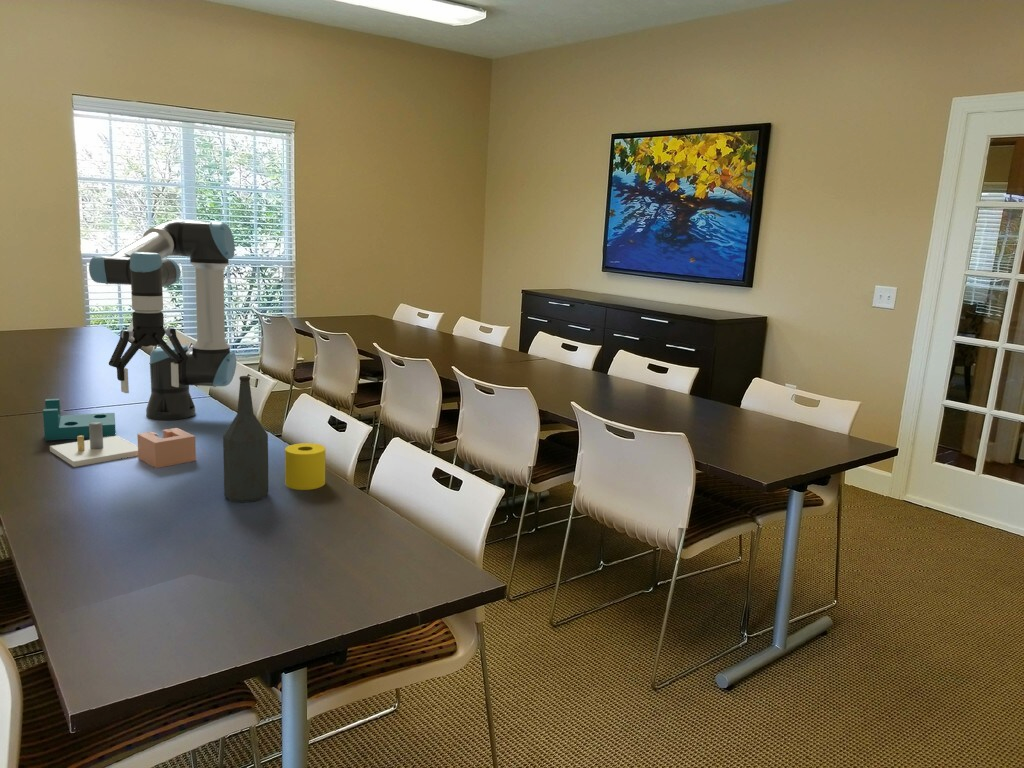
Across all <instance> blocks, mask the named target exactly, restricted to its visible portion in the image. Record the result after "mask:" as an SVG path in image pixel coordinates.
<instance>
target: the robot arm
mask: <svg viewBox="0 0 1024 768" xmlns="http://www.w3.org/2000/svg"><path fill="white" fill-rule="evenodd" d="M235 247H236V246H235V239H234V235H233V231H232V229H231V228H230V226H229V225H228V224H227V223H226V222H222V221H221V222H220V221H214V220H196V219H195V220H194V219H192V220H191V219H174V220H169V221H165V222H163V223H159V224H157V225H155V226H152V227H151V228H148V229H147V230H145V232H144V234H143V235H142V237H139V239H137V240H135V241H134V242H132V243H130V244H128V245H127V246H125V247H123V248H122V249H120V250H118V251H116V252H114V253H113V254H110V255H95V256H93V257H91V258H90V260H89V264H88V271H89V276H90V279H91V280H92V282H94V283H96V284H97V283H98V284H104V285H105V284H106V285H129V286H131V287H130V288H131V309H132V310H133V311H132V314H131V318H132V330H130V331H129V330H123V329H122V330H120V335H119V339H118V341H117V344H116V347H115V348H114V351H113V353H112V355H111V357H110V359H109V362H108V366H109V367H113V368H115V369H116V375H117V377H116V378H117V380H118V381H120V390H121V393H124V394H130V388H129V387H130V386H129V369H128V368H127V365H128V364H129V363H130V361H131V360H132V359H133V357H134V356H135V355H136V353H137V352H138V351H139V350H140V349H141V348H142V347H144V348H146V347H150V346H151V347H152V346H153V347H157V346H158V347H157V348H154V349H152V351H151V352H150V353H149V372H150V373H149V374H150V392H151V393H150V396H149V399H148V402H147V405H146V409H145V412H146V413H145V414H146V417H147V418H148V419H152V420H158V421H159V420H161V421H171V420H172V421H173V420H175V421H176V420H182V419H188V418H191V417H194V416H195V415H196V405H195V403H194V400H193V398H192V395H191V392H190V386H198V387H199V386H201V387H212V388H217V387H227V386H229V385H230V384H231V383H232V381H233V379H234V376H235V373H236V369H237V356H236V353H235V352H233V351H231V346H230V345H229V344H228V343H227V342H226V334H225V333H226V332H225V331H226V330H225V329H226V327H225V326H226V325H225V323H226V322H225V321H226V320H225V318H226V317H225V270H224V269H225V268H226V267H227V266H228V265H229V260H231V259H233V258H234V256H235V250H236V248H235ZM171 256H172V257H173V256H174V257H175V256H176V257H177V256H178V257H189V261H190V262H189V263H190V264H191V265H192V266H193V267H194V268H195V300H196V301H195V304H196V305H195V306H196V307H195V308H196V339H197V340H196V342H195V343H194V344H193V345H192V350H189V347H188V345H184V344H181V342H180V340H179V338H178V336H177V333H176V332H177V330H176V328H174V327H167V328H165V327H164V324H165V322H164V312H162V311H163V310H164V296H163V295H164V294H163V292H164V291H163V287H170V286H172V285H174V284H175V283H178V281H179V279H180V278H181V273H182V271H181V267H180V266H179V264H178V263H177V261H175V260H173V259H171V258H168V257H171ZM165 335H166V336H167V338H168V339H169V341H170V343H171V345H168V343H167V342H166V341H165V340H164V339H163V338H164V336H165ZM131 338H133V340H132V342H131V344H130V346H129V347H128V349H127V350H126V351H125V349H126V348H127V346H128V343H129V340H130V339H131ZM124 351H125V352H124Z"/></svg>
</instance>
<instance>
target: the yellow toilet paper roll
mask: <svg viewBox="0 0 1024 768" xmlns="http://www.w3.org/2000/svg"><path fill="white" fill-rule="evenodd" d="M284 453H285V454H284V455H285V456H284V457H285V458H284V460H285V461H284V464H285V465H284V467H285V469H284V471H285V473H284V475H285V478H284V482H285V483H284V484H285V486H286V487H287V488H289V489H293V490H297V491H305V490H306V491H309V490H315V489H318V488H321V487H323V486H324V485H325V484H326V447H325V446H324V445H322V444H319V443H314V442H300V443H294V444H290V445H288V446H286V447H285V449H284Z"/></svg>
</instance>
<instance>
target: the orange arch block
mask: <svg viewBox="0 0 1024 768" xmlns="http://www.w3.org/2000/svg"><path fill="white" fill-rule="evenodd" d="M137 446H138V459H139V460H140V461H142V462H144V463H146V464H148V465H149V466H150V467H153V468H155V469H158V468H159V469H160V468H164V467H168V466H174V465H180V464H184V463H190V462H195V461H197V453H196V450H197V449H196V448H197V444H196V436H195V435H194V434H191V433H189V432H187V431H186V430H183V429H180V428H179V427H174V428H173V427H172V428H167V429H162V438H161V437H159V436H158V434H157V433H156V432H153V431H147V432H141V433H137Z"/></svg>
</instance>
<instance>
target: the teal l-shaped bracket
mask: <svg viewBox="0 0 1024 768" xmlns="http://www.w3.org/2000/svg"><path fill="white" fill-rule="evenodd" d="M60 400H61V399H60V398H45V401H44V403H45V405H44V406H45V409H43V410H42V416H43V428H44V440H45V441H55V440H56V441H58V440H70V439H71V440H73V439H77V436H84V439H87V438H88V439H90V434H89V423H92V422H101V423H102V432H103V438H105V437H111V436H117V435H116V434H115V433H116V415H115V414H116V413H115V412H107V413H104V412H102V413H85V414H84V413H83V414H68V415H67V414H65V415H61V401H60Z"/></svg>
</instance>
